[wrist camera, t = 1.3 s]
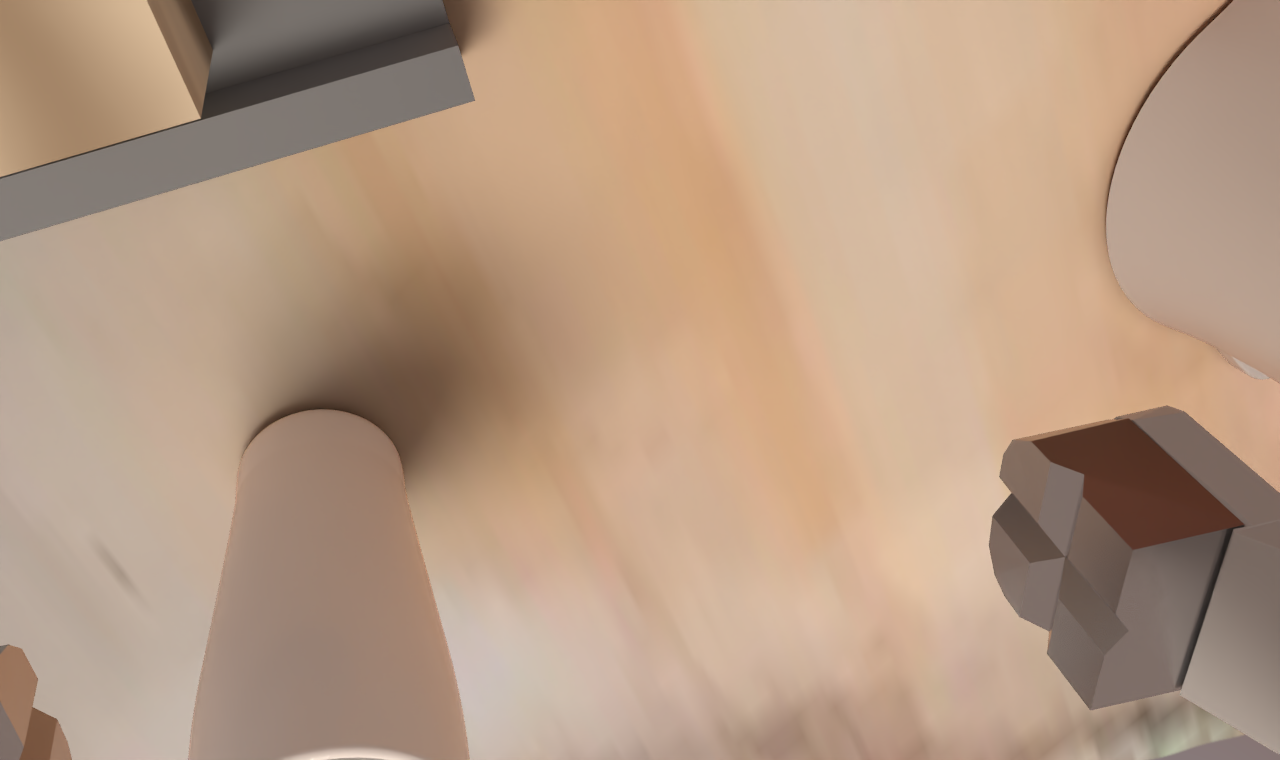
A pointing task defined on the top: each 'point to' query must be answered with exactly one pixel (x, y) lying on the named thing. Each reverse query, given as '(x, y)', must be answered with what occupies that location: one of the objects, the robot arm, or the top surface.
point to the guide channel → (263, 101)
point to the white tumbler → (325, 609)
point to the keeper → (95, 74)
